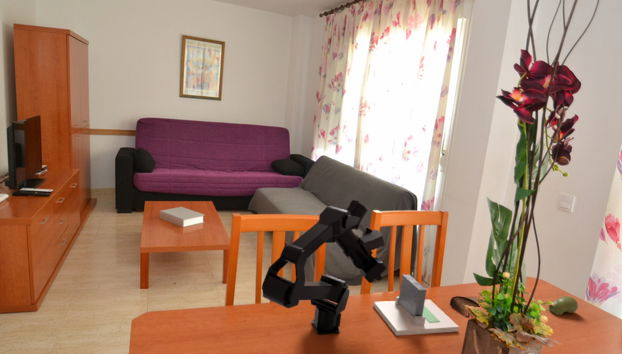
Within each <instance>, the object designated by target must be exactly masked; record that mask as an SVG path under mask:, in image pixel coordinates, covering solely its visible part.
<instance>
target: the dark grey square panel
mask: <svg viewBox="0 0 622 354" xmlns="http://www.w3.org/2000/svg"><path fill="white" fill-rule="evenodd" d="M399 290H400V291H399V295H398V296H399V302H400V304H401V305H402V306H403V308H404V309H405V310H406V311H407V312H408V313H409V314H410V315H411V316H412V317H413V318H414V317H415V316H422V314H423V308H424V303H425V300H426V297H427V296H426V295H427V289H426V287H424V286H423V284H421V283H420V282H419V281H417V280H416V279H415V278H414V277H413V276H412V275H411V274H402V277H401V284H400V289H399Z"/></svg>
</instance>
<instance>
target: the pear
mask: <svg viewBox="0 0 622 354" xmlns="http://www.w3.org/2000/svg"><path fill="white" fill-rule="evenodd" d="M552 302H553V303H554V305H550V304H549V305H548V310H549V311H550V312H551V313H553V314H554V315H556V316H563V314H564V313H567V314H568V313H569V314H573V313H575V312H577V310H578V309H579V304H578V300H576V298H574V297H572V296H568V295H567V296H565V295H564V296H560V297H558V298H557V299H556V300H555V301H554V300H553V301H552Z"/></svg>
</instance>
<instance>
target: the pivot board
mask: <svg viewBox="0 0 622 354" xmlns="http://www.w3.org/2000/svg"><path fill="white" fill-rule="evenodd" d="M372 306H373V308H374V309H375V310H376V311H377V313H378V314H379V315H380V316H381V318H382V320H383V321H385V323H386V324H387V325H388V326H389V329H391V330H392V332H393V333H394V334H395V336H397V337H398V336H409V335H410V336H411V335H423V334H438V333H452V332H453V333H454V332H455V333H456V332H459V328H460V326H459V325H458V324H457V323H456V322H455V321H454V320H452V318H451V317H449V316H448V315H447V314H446V313H445V312H444V311H443V310H442V309H441V308H440V307H439V306H437V305H436V304H435V303H434V302H433V301H432V300H431V299H425V303H424V308H423V314H422V316H415V317H414V318H413V317H412V316H411V315H410V314H409V313H408V312H407V311H406V310H405V309H404V308H403V306H402V305H401V304H400V302H399V295H397V296H395V300H390V301H389V300H388V301H387V300H386V301H373V305H372Z"/></svg>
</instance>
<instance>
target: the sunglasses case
mask: <svg viewBox="0 0 622 354" xmlns="http://www.w3.org/2000/svg"><path fill="white" fill-rule="evenodd" d="M477 297H478V295H477V296H476V295H475V296H460V295H459V296H458V295H456V296H453V297H451V299H450V300H449V304H450V306H451V308H453V309H454V310H455V311H456V312H457V313H458V314H460V315H461V316H463V318H469V317H468V316H467V309H466V308H465V306H464V305H468V306H473V307H480V306H479V304H478V303H477Z"/></svg>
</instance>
